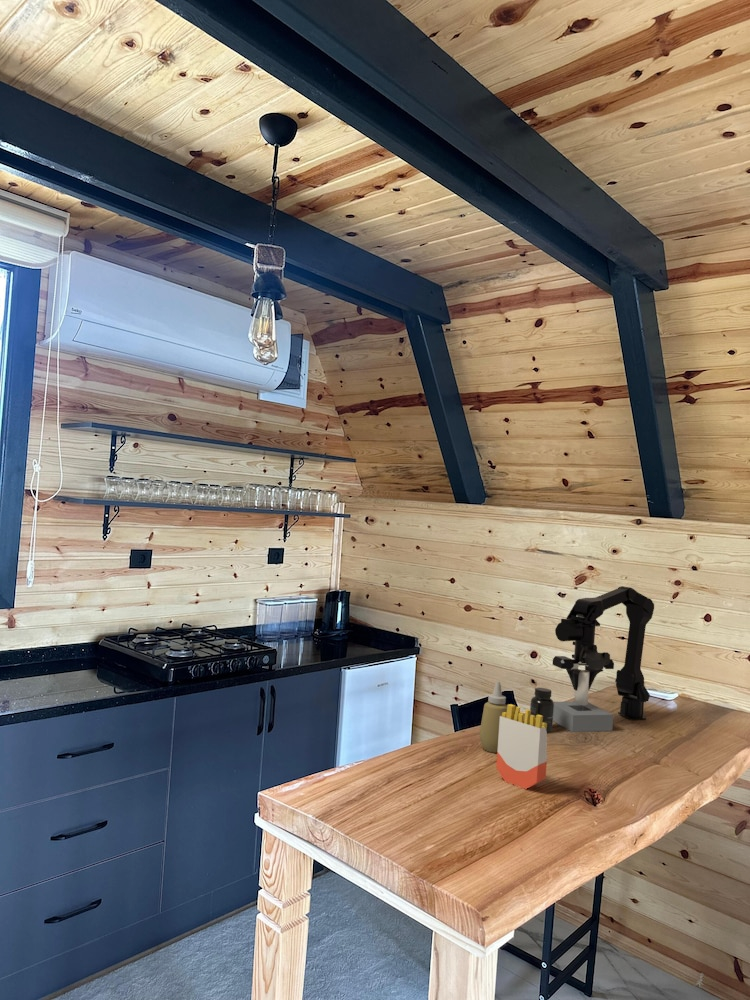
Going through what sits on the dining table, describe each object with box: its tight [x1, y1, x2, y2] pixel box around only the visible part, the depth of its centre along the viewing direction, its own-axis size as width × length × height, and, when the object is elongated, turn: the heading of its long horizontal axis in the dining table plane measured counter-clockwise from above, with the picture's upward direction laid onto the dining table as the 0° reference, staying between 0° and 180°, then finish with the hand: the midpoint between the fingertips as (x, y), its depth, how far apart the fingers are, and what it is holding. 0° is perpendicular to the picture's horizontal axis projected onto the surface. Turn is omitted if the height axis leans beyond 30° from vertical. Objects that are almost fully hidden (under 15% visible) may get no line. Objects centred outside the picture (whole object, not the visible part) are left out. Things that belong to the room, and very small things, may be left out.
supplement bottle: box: [529, 687, 555, 734], centre depth 204 cm, size 7×7×12 cm
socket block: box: [553, 701, 614, 733], centre depth 212 cm, size 14×14×5 cm
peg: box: [573, 668, 590, 705], centre depth 212 cm, size 4×4×10 cm
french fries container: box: [495, 703, 548, 790], centre depth 160 cm, size 5×11×18 cm, turn 47°
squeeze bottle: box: [479, 681, 508, 754], centre depth 183 cm, size 8×8×18 cm
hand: (581, 690), depth 212 cm, fingers closed on peg, 4 cm apart
